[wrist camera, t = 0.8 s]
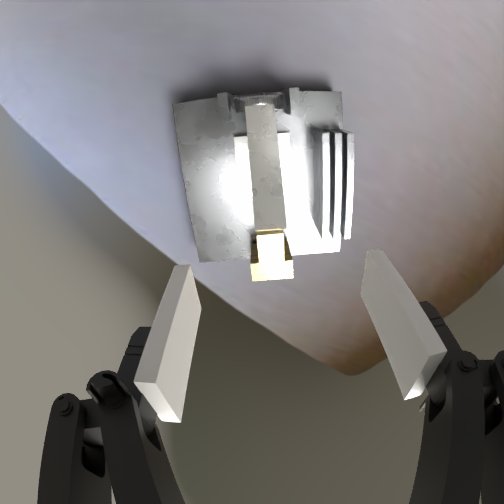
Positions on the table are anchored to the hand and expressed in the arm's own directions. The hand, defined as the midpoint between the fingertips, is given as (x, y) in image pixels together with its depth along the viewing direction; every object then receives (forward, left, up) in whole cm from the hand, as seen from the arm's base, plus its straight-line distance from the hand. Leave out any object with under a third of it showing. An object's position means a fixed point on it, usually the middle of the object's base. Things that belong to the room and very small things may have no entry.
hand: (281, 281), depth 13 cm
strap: (-3, 0, -12) cm, 13 cm away
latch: (+6, 0, -16) cm, 17 cm away
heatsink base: (0, 0, -19) cm, 19 cm away
